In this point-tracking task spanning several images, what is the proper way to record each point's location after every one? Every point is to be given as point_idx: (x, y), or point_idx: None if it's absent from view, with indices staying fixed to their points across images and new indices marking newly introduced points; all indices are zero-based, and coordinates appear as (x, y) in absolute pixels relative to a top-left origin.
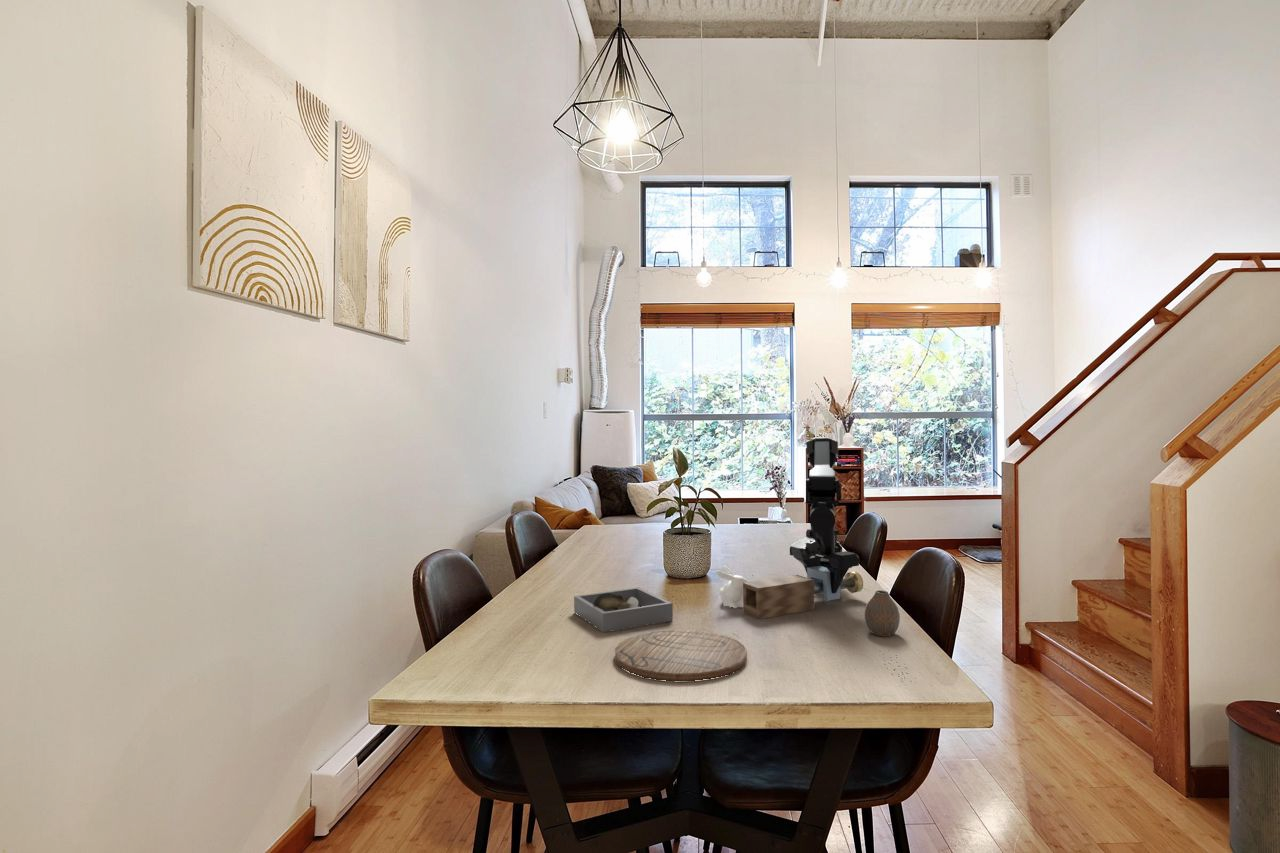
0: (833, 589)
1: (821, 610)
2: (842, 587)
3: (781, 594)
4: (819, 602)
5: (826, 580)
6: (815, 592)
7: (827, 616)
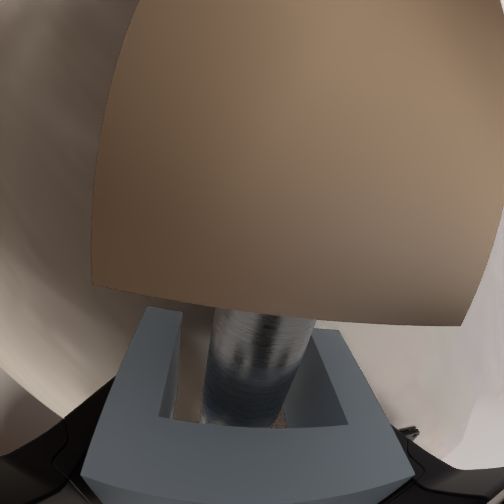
0: (110, 381)
1: None
2: None
3: None
4: None
5: (106, 412)
6: None
7: (53, 152)
